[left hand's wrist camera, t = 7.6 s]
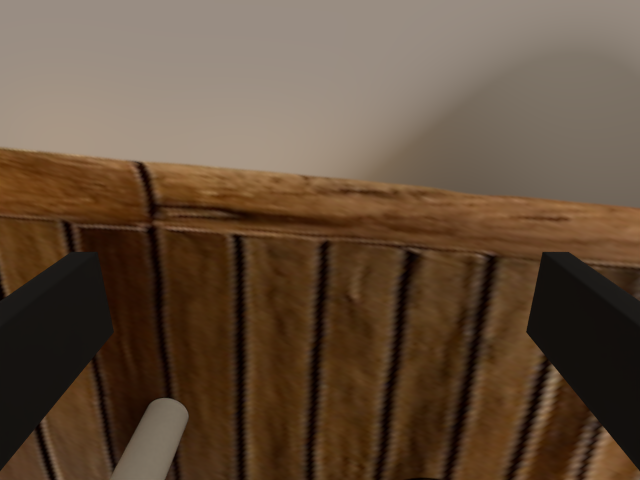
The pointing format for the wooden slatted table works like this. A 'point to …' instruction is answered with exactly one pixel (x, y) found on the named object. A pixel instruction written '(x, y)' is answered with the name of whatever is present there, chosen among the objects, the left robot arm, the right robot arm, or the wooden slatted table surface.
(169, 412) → the beige cylinder
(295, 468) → the wooden slatted table surface
